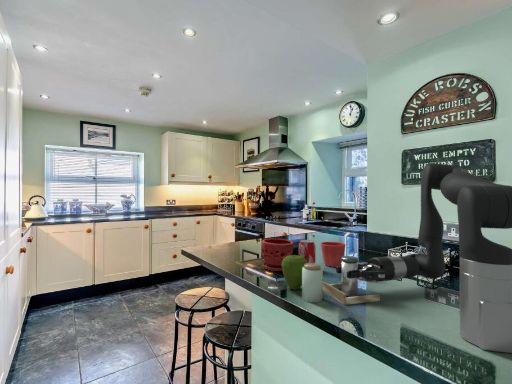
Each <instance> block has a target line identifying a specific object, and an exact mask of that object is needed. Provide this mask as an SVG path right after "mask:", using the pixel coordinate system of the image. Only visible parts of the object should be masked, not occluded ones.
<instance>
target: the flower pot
mask: <svg viewBox="0 0 512 384" xmlns="http://www.w3.org/2000/svg"><path fill="white" fill-rule="evenodd" d="M320 249H321V254H322V259H323V264H325V265H324V266H326V265H327V266H326V267H329V266H331V267H332V268H336V267H337V266H341V257H342V256H345V251H346V243H344V242H339V241H323V242H320ZM331 267H330V268H331Z"/></svg>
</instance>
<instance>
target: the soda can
mask: <svg viewBox="0 0 512 384" xmlns="http://www.w3.org/2000/svg"><path fill="white" fill-rule="evenodd" d="M297 250H298V251H297V252H298V255H297V256H302V257H303V258H305V259H306V260H307V263H315V264H316V260H317V259H316V257H317V255H316V251H317V250H316V243H315V241H314V240H311V239H301V240H300V241H299V243H298V249H297Z"/></svg>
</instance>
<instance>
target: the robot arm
mask: <svg viewBox="0 0 512 384" xmlns="http://www.w3.org/2000/svg"><path fill="white" fill-rule="evenodd" d="M420 179H421V180H420V224H419V229H418V237H417V244H418V245H419V246H421V247H422V248H424V249H425V250H426V253H427V254H424V253H410V254H407V255H402V256H376V257H372V258H370V259H369V261H368V262H365V261H364V262H363V261H362V262H358V270H350V271H347V278H349V279H351V278H360V279H363V278H365V280H364V281H376V282H388V281H397V280H402V279H409V278H414V277H417V275H421V276H426V277H429V278H433V279H438V278H440V277H441V276H442V275H443V274H444V273H445V270H446V261H445V256H444V250H443V237H444V226H445V225H444V221H443V218H442V216H441V214H440V213H439V210H438V208H437V206H436V204H435V202H434V199H433V194H432V193H433V192H432V190H435V191H436V190H437V191H440V193H441V194H442V196H443V197H444V198H445V199H446V200H447V201H449V202H450V203H452V204H454V205H455V206H456V209H457V210H456V211H457V220H458V221H457V222H458V242H459V243H458V245H459V335H460V337H462V338H463V340H465V341H466V342H469V343H470V344H473V345H475V346H477V347H479V348H480V349H481V350H484V351H492V352H500V353H509V354H512V247H509V246H507V245H504V244H500V243H497V242H494V241H493V240H490V239H489V238H487V237H485V235H483V233H482V229H500V230H501V229H504V230H507V229H509V230H510V229H512V185H505V184H500V183H494V182H492V181H489V180H487V179H485V178H482V177H479V176H477V175H475V174H473V173H470V172H467V171H464V170H462V169H461V168H460V167H458V166H456V165H453V164H446V163H445V164H444V163H436V162H428V163H426V165H424V167H423V170H422V173H421V177H420ZM335 269H336V270H335V271H336V272H335V273H337V274H338V275H339V274H341V266H337V267H335Z"/></svg>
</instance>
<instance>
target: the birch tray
mask: <svg viewBox="0 0 512 384" xmlns="http://www.w3.org/2000/svg"><path fill="white" fill-rule="evenodd" d="M339 289H340V290H339ZM323 292H324V293H325V294H326V295H327V296H330V297H331V298H332V299H333V300H335V301H337V302H339V303H341V304H342V305H343V306H347V305H348V306H349V305H355V304H363V303H372V302H380V301H381V295H380V293H375V294H374V293H373V294H367V295H357V296H348V297H347V296H346V294H345V293H343V292H341V282H339V283H331V284H330V283H327V282H325V281H324V280H323V284H322V293H323Z"/></svg>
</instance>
